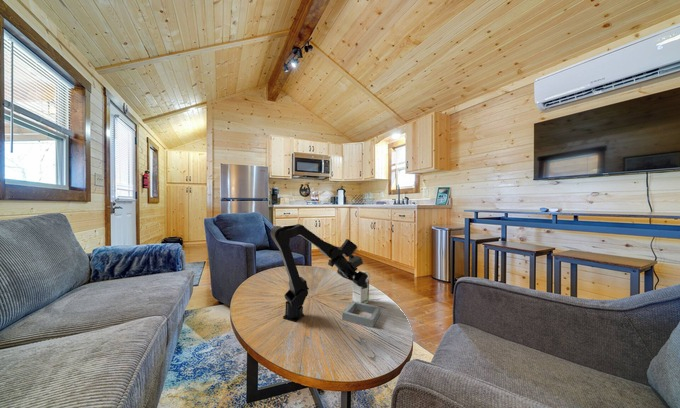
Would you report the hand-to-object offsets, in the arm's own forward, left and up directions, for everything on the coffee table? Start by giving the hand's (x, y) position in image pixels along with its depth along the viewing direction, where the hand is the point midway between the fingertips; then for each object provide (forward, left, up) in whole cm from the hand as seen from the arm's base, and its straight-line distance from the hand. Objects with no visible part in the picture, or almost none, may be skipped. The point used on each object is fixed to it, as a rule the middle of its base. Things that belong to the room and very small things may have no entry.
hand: (361, 284), depth 120 cm
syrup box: (0, 0, -9) cm, 9 cm away
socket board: (+5, -14, -9) cm, 17 cm away
